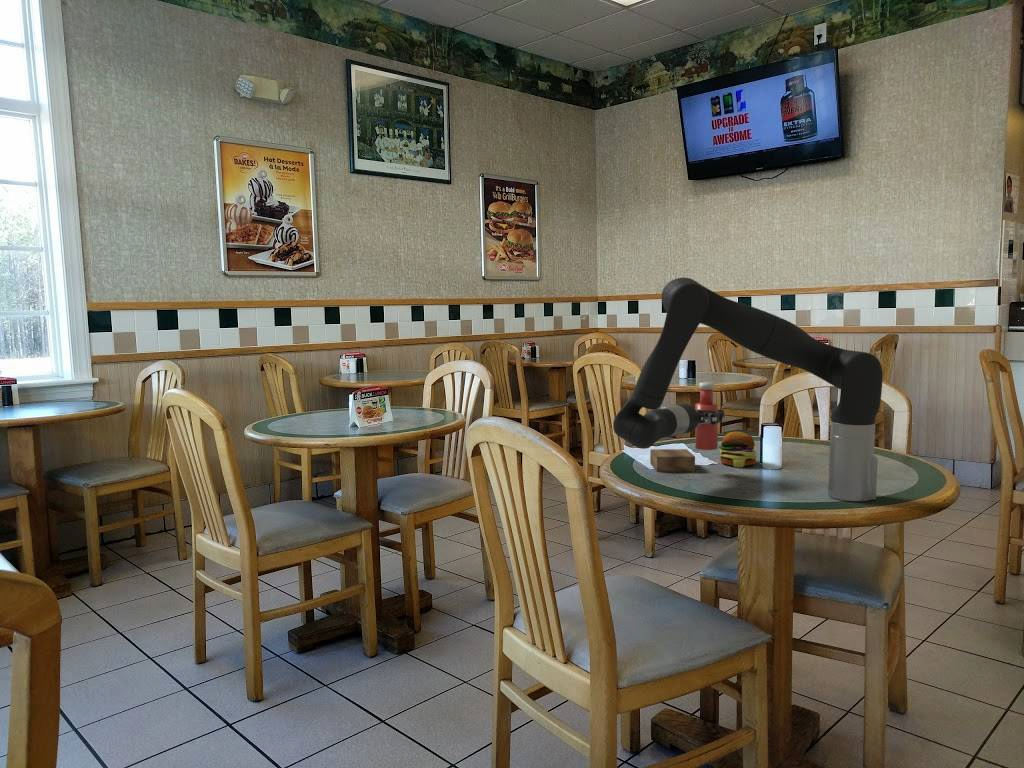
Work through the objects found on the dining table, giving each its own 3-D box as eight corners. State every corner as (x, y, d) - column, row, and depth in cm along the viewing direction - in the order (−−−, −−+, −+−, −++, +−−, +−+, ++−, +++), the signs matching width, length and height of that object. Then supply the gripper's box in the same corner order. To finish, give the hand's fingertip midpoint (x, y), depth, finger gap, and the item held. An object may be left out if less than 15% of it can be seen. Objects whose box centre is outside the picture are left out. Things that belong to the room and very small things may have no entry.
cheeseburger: (719, 467, 204) (718, 430, 205) (717, 468, 214) (717, 433, 215) (758, 468, 201) (758, 430, 203) (755, 469, 212) (754, 433, 213)
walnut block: (686, 463, 209) (686, 449, 209) (694, 471, 199) (695, 456, 199) (650, 463, 209) (650, 449, 209) (656, 471, 199) (657, 456, 199)
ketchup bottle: (714, 445, 199) (714, 381, 198) (720, 449, 194) (720, 384, 192) (693, 446, 199) (693, 382, 198) (698, 450, 194) (698, 384, 192)
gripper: (701, 407, 180) (736, 400, 192) (651, 402, 190) (687, 396, 202) (701, 438, 181) (736, 429, 193) (651, 432, 191) (687, 424, 203)
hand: (711, 412), depth 197 cm, fingers closed on ketchup bottle, 5 cm apart
